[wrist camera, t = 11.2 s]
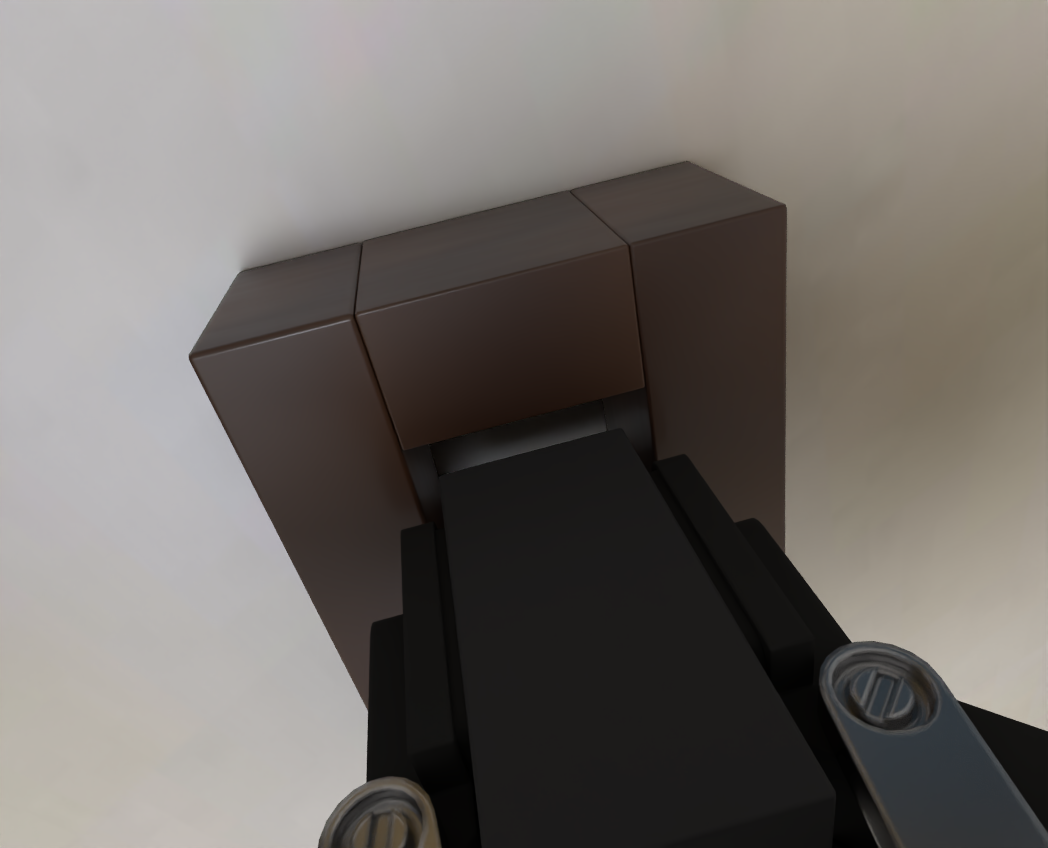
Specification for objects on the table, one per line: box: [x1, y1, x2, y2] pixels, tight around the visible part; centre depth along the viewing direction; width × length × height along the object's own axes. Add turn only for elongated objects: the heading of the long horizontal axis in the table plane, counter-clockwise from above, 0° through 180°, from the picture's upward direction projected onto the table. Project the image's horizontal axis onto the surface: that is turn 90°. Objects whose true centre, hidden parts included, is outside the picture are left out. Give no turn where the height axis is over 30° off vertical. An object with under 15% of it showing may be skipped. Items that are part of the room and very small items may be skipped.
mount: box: [189, 161, 787, 710], centre depth 16 cm, size 9×16×4 cm, turn 11°
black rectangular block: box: [439, 428, 836, 848], centre depth 10 cm, size 3×3×6 cm
